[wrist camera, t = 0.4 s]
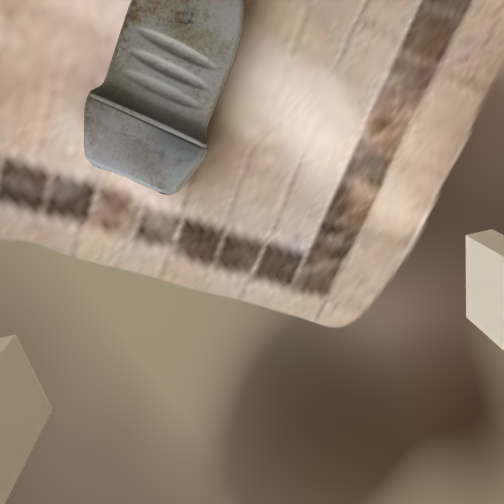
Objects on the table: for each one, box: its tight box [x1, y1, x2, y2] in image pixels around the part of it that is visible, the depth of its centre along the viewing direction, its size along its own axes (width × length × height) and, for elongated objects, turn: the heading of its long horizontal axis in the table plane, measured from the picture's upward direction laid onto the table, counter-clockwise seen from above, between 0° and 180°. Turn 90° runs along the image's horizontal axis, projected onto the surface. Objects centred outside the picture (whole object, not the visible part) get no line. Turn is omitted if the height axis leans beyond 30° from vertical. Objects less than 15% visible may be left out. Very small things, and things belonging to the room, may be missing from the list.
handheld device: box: [84, 0, 245, 195], centre depth 32 cm, size 10×20×5 cm, turn 155°
